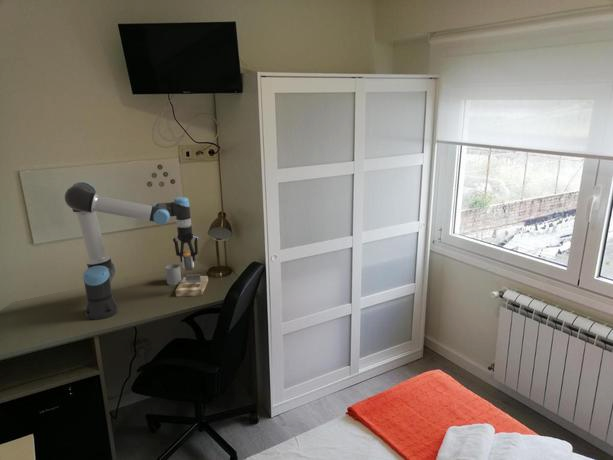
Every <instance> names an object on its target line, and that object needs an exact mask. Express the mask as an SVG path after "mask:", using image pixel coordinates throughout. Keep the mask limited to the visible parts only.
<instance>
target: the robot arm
mask: <svg viewBox="0 0 613 460" xmlns="http://www.w3.org/2000/svg"><path fill="white" fill-rule="evenodd" d="M64 201H65V205H67V206H68V207H69V208H70V209H72V212H73V213H74V214H75V215H77V219H78V222H79V223H78V224H79V226H80V229H81V234H82V237H83V242H84V245H85V249H86V252H87V257H88V259H87V261H86V266H87V269H85V270H84V272H83V274H82V275H83V276H82V279H83V283H84V288H85V289H84V290H85V294H86V299H87V304H86V308H85V317H86V318H87V319H89V320H101V319H102V320H103V319H107V318H110V317H112V316H115V314H117V313H119V306H118V303H117V302H116V300H115V298H114V296H113V291H112V284H111V283H112V281H113V279H114V277H115V274H116V267H115V264H114V263H113V262H112V259H111V256H110V255H108V254H107V251H106V247H105V243H104V238H103V235H102V232H101V227H100V224H99V220H98V219H99V218H98V215H97V212H98V213H103V214H108V215H115V216H120V217H124V218H130V219H131V218H132V219H137V220H143V221H147V222H154V223H155V224H157V225H159V226H163V225H166V224H167V223H168V222H169V220H170V218H171V217H175V219H176V220H175V221H176V227H177V228H176V229H177V236H174V237H173V238H172V241H173V243H174V248H175V254H176V256H177V257H180V262H181V263H182V268H183V269H185V263H184V256H183V252H184V249H185V244H187V245H188V247H189V251H191V254H192V256H191V265H192V268H193V269H194V267H195V263H194V262H195V261H196V256H197V255H198V254H199V248H198V247H199V245H198V241H199V236H196V235H195V236H194V234H193V228H192V227H193V226H192V218H191V209H190V201H189V198H188V197H187V196H179V197H175V198H174V199H173V201H171V202H161V203H160V202H156V203H152V204H151V205H148V204H143V203H138V202H134V201H133V202H132V201H128V200H122V199H116V198H113V197H107V196H101V195H99V194H98V193H97V190H96V188H95V186H93V185H92V184H91V183H89V182H86V181H80V182H76V183H74V184H73V185H72V186H70V187H68V189H67V190H66V191H65V193H64ZM192 240H193V241H194V243H192ZM178 241H179V242H180V248H179V242H178ZM193 244H194V246H193Z"/></svg>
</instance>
